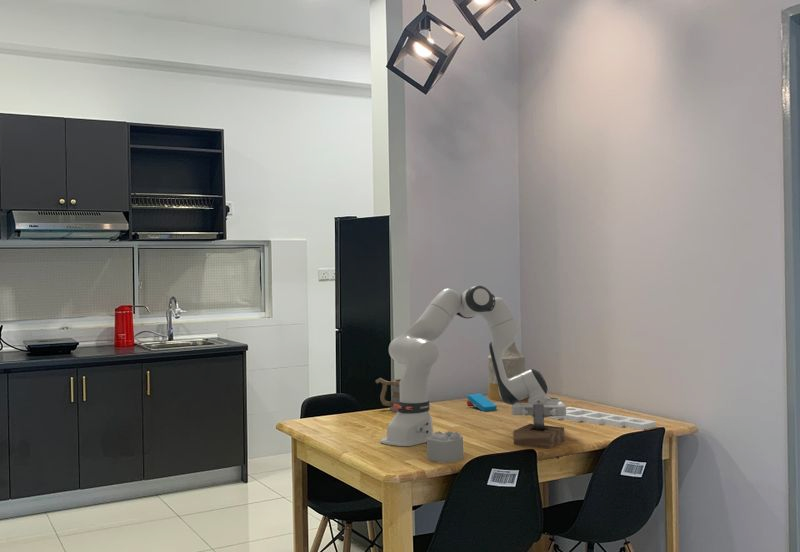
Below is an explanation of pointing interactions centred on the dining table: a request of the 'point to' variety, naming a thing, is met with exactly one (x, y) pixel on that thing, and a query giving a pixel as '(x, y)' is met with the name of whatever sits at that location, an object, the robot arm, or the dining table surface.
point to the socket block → (539, 436)
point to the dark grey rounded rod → (538, 417)
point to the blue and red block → (481, 402)
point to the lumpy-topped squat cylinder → (445, 447)
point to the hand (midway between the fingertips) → (538, 413)
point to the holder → (605, 418)
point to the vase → (512, 366)
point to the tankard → (394, 388)
